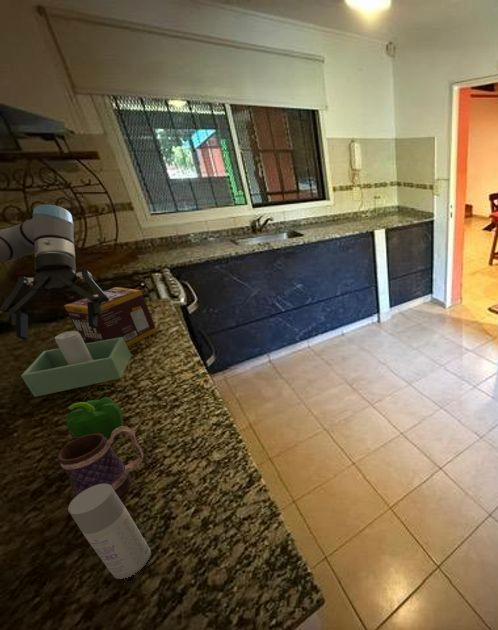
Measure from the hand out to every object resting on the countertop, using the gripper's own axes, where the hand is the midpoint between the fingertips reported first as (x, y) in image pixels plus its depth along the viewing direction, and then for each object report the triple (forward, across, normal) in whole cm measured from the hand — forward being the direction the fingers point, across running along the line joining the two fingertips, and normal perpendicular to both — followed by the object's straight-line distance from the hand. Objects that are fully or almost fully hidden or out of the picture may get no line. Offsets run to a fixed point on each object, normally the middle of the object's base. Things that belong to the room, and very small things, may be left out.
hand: (59, 332), depth 87 cm
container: (+54, +22, -34) cm, 68 cm away
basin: (+9, 0, +12) cm, 15 cm away
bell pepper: (+30, +11, -10) cm, 34 cm away
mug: (+42, +17, -22) cm, 51 cm away
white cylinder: (+8, 0, +12) cm, 14 cm away
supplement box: (-4, +5, +25) cm, 26 cm away
